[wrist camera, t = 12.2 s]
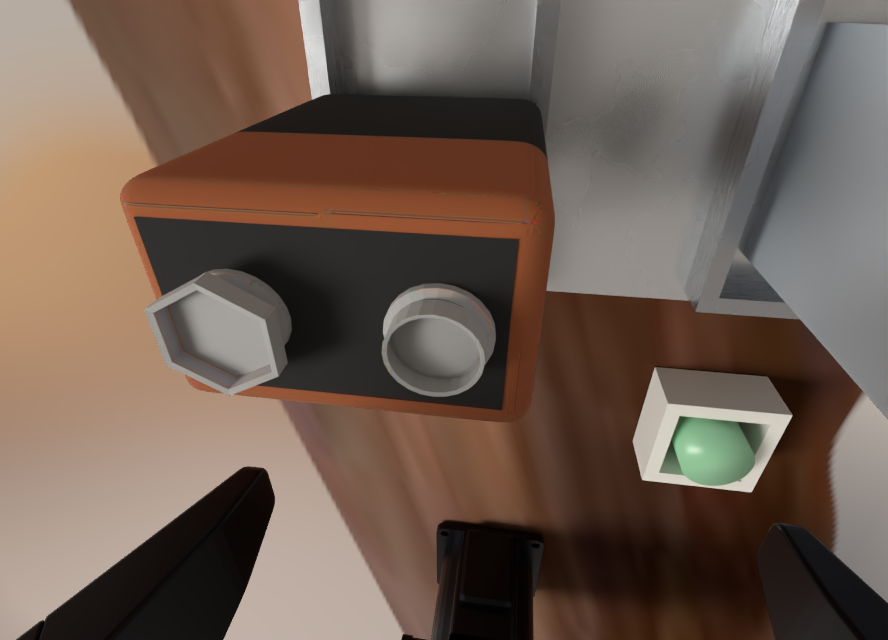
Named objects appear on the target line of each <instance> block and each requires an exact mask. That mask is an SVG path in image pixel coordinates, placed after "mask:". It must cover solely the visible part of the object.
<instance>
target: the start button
mask: <svg viewBox="0 0 888 640" xmlns="http://www.w3.org/2000/svg"><path fill="white" fill-rule="evenodd" d="M671 440H672V443H673V446H674V449H675V452H676V455H677V458H678V461H679V464H680V467H681V470H682V472H683V474H684V475H685V476H686V477H687V478H688V479H690V480H691V481H693V482H695V483H698V484H702V485H708V486H719V485H726V484H730V483H733V482H736V481H738V480H740V479H742V478H743V477H745V476H746V475H747V474H748V473H749V472H750V471H751V470H752V469H753V467H754V464H755V455H754V453H753V451H752V449H751V447H750V445H749V443H748V441H747V439H746V437H745V435H744V433H743V431H742V429H741V427H740V425H739V423H738V422H737V421H727V420H716V419H706V418H696V417H685V416H679V419H678V422H677V424H676V427H675V430H674V433H673V436H672V438H671Z"/></svg>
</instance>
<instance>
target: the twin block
mask: <svg viewBox="0 0 888 640" xmlns="http://www.w3.org/2000/svg"><path fill="white" fill-rule="evenodd" d="M744 256H745V257H746V258H747V259H748V260H749V261H750V263H751V264H752V265H753V266H754V267H755V268H756V269H757V271H758V272H759V273H760V274H761V275H762V276H763V277H764V279H765V280H766V281H767V282H768V283H769V284H770V285H771V287H772V288H773V289H774V290H775V291H776V292H777V293H778V295H779V296H780V297H781V298H782V299H783V300H784V301H785V302H786V304H787V305H788V306H789V307H790V308H791V309H792V310H793V312H794V313H795V314H796V315H797V316H798V317H799V318H800V320H801V321H802V322H803V323H804V324H805V325H806V326H807V328H808V329H809V330H810V331H811V332H812V333H813V334H814V336H815V337H816V338H817V339H818V340H819V341H820V342H821V344H822V345H823V346H824V347H825V348H826V349H827V350H828V352H829V353H830V354H831V355H832V356H833V357H834V358H835V360H836V361H837V362H838V363H839V364H840V365H841V366H842V368H843V369H844V370H845V371H846V372H847V373H848V374H849V376H850V377H851V378H852V379H853V380H854V381H855V382H856V384H857V385H858V386H859V387H860V388H861V389H862V390H863V392H864V393H865V394H866V395H867V396H868V397H869V398H870V400H871V401H872V402H873V403H874V404H875V405H876V406H877V408H878V409H879V410H880V411H881V412H882V413H883V414H884V416H885V417H886V418H887V419H888V22H830V23H829V25H828V28H827V31H826V33H825V36H824V39H823V42H822V44H821V47H820V50H819V52H818V55H817V58H816V60H815V63H814V66H813V69H812V71H811V74H810V77H809V79H808V82H807V85H806V87H805V90H804V93H803V96H802V98H801V101H800V104H799V106H798V109H797V112H796V114H795V117H794V120H793V123H792V125H791V128H790V131H789V133H788V136H787V139H786V142H785V144H784V147H783V150H782V152H781V155H780V158H779V160H778V163H777V166H776V169H775V171H774V174H773V177H772V179H771V182H770V185H769V187H768V190H767V193H766V196H765V198H764V201H763V204H762V206H761V209H760V212H759V214H758V217H757V220H756V223H755V225H754V228H753V231H752V233H751V236H750V239H749V242H748V244H747V247H746V250H745V252H744Z"/></svg>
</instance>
